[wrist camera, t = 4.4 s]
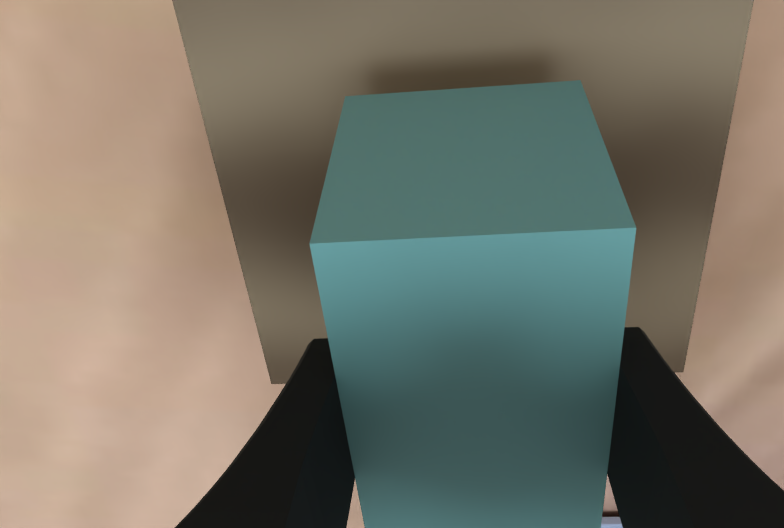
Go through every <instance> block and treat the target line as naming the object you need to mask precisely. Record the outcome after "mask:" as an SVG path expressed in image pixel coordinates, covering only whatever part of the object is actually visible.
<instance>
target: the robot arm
mask: <svg viewBox="0 0 784 528" xmlns="http://www.w3.org/2000/svg"><path fill="white" fill-rule="evenodd" d="M607 474H608V477H609V481H610V484H611V488H612V491H613V495H614V499H615V502H616V506H617V509H618V513H619V516H620V517H602V521H601V528H784V490H782V489H781V488H780V487H779V486H778V485H777V484H776V483H775V482H774V481H773V480H771V479H770V478H769V477H768V476H767V475H766V474H765V473H764V472H763V471H762V470H761V469H760V468H759V467H758V466H757V465H756V464H755V463H754V462H753V461H752V460H751V459H750V458H749V457H748V456H747V455H746V454H745V453H744V452H743V451H742V450H741V449H740V448H739V447H738V446H737V445H736V444H735V443H734V442H733V441H732V439H731V438H730V437H729V436H728V435H727V434H726V433H725V432H724V431H723V430H722V429H721V428H720V427H719V425H718V424H717V423H716V422H715V421H714V420H713V419H712V418H711V416H710V415H709V414H708V413H707V412H706V411H705V409H704V408H703V407H702V406H701V405H700V404H699V402H698V401H697V400H696V399H695V398H694V397H693V395H692V394H691V393H690V392H689V391H688V389H687V388H686V387H685V386H684V384H683V383H682V382H681V381H680V379H679V378H678V377H677V375H676V374H675V373H674V372H673V370H672V369H671V368H670V367H669V365H668V364H667V363H666V361H665V360H664V359H663V357H662V356H661V355H660V353H659V352H658V350H657V349H656V348H655V346H654V345H653V343H652V342H651V341H650V339H649V338H648V336H647V335H646V334H645V332H644V331H643V330H642V329H641V328H639V327H624V336H623V344H622V353H621V361H620V369H619V378H618V386H617V395H616V403H615V412H614V420H613V429H612V437H611V445H610V454H609V462H608V471H607ZM354 480H355V475H354V469H353V464H352V459H351V454H350V449H349V444H348V439H347V434H346V428H345V423H344V418H343V413H342V408H341V403H340V398H339V393H338V387H337V382H336V377H335V372H334V367H333V362H332V357H331V352H330V347H329V341H328V338H319V339H313V340H312V341H311V342H310V343H309V344H308V346H307V348H306V350H305V351H304V353H303V355H302V357H301V359H300V361H299V362H298V364H297V366H296V368H295V370H294V371H293V373H292V375H291V376H290V378H289V380H288V381H287V383H286V385H285V386H284V388H283V390H282V391H281V393H280V395H279V396H278V398H277V399H276V401H275V402H274V404H273V405H272V407H271V408H270V410H269V411H268V413H267V415H266V416H265V418H264V419H263V421H262V422H261V424H260V425H259V427H258V428H257V429H256V431H255V432H254V434H253V435H252V436H251V438H250V439H249V440H248V442H247V443H246V444H245V446H244V447H243V449H242V450H241V451H240V453H239V454H238V455H237V457H236V458H235V459H234V461H233V462H232V463H231V465H230V466H229V467H228V468H227V470H226V471H225V472H224V473H223V475H222V476H221V477H220V478H219V480H218V481H217V482H216V483H215V484H214V485H213V487H212V488H211V489H210V490H209V491H208V492H207V494H206V495H205V496H204V497H203V498H202V499H201V500H200V502H199V503H198V504H197V505H196V506H195V507H194V508H193V509H192V510H191V511H190V512H189V513H188V515H187V516H186V517H185V518H184V519H183V520H182V521H181V522H180V523H179V524H178V525H177V526H176V527H175V528H346V526H347V520H348V515H349V509H350V503H351V498H352V492H353V486H354Z"/></svg>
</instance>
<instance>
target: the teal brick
mask: <svg viewBox="0 0 784 528" xmlns="http://www.w3.org/2000/svg"><path fill="white" fill-rule="evenodd" d="M635 235H636V225H635V223H634V220H633V218H632V215H631V212H630V210H629V207H628V204H627V202H626V199H625V196H624V194H623V191H622V188H621V186H620V183H619V181H618V178H617V175H616V173H615V170H614V167H613V165H612V162H611V159H610V157H609V154H608V152H607V149H606V146H605V144H604V141H603V138H602V136H601V133H600V130H599V128H598V125H597V122H596V120H595V117H594V115H593V112H592V109H591V107H590V104H589V101H588V99H587V96H586V93H585V91H584V88H583V85H582V83H581V80H576V81H561V82H546V83H532V84H517V85H502V86H488V87H473V88H459V89H444V90H429V91H415V92H400V93H385V94H371V95H356V96H345V99H344V103H343V107H342V111H341V115H340V120H339V124H338V128H337V132H336V136H335V140H334V144H333V148H332V153H331V157H330V161H329V165H328V169H327V173H326V177H325V181H324V186H323V190H322V194H321V198H320V202H319V206H318V210H317V214H316V219H315V223H314V227H313V231H312V235H311V239H310V243H309V244H310V249H311V254H312V259H313V265H314V270H315V275H316V280H317V285H318V290H319V295H320V300H321V306H322V311H323V316H324V321H325V326H326V331H327V336H328V341H329V347H330V352H331V357H332V362H333V367H334V372H335V377H336V382H337V387H338V393H339V398H340V403H341V408H342V413H343V418H344V423H345V428H346V434H347V439H348V444H349V449H350V454H351V459H352V464H353V469H354V475H355V480H356V485H357V490H358V495H359V500H360V505H361V510H362V515H363V521H364V526H365V528H601V521H602V513H603V504H604V496H605V488H606V479H607V471H608V462H609V454H610V445H611V437H612V429H613V420H614V412H615V403H616V395H617V386H618V378H619V369H620V361H621V353H622V344H623V336H624V327H625V319H626V310H627V302H628V294H629V285H630V277H631V268H632V260H633V251H634V243H635Z"/></svg>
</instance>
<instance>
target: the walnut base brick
mask: <svg viewBox="0 0 784 528" xmlns="http://www.w3.org/2000/svg"><path fill="white" fill-rule="evenodd" d="M172 1H173V5H174V9H175V13H176V17H177V20H178V24H179V28H180V32H181V36H182V40H183V44H184V47H185V51H186V55H187V59H188V63H189V67H190V71H191V75H192V78H193V82H194V86H195V90H196V94H197V98H198V102H199V105H200V109H201V113H202V117H203V121H204V125H205V129H206V132H207V136H208V140H209V144H210V148H211V152H212V156H213V160H214V163H215V167H216V171H217V175H218V179H219V183H220V187H221V190H222V194H223V198H224V202H225V206H226V210H227V214H228V218H229V221H230V225H231V229H232V233H233V237H234V241H235V245H236V248H237V252H238V256H239V260H240V264H241V268H242V272H243V276H244V279H245V283H246V287H247V291H248V295H249V299H250V303H251V306H252V310H253V314H254V318H255V322H256V326H257V330H258V334H259V337H260V341H261V345H262V349H263V353H264V357H265V361H266V364H267V368H268V372H269V376H270V380H271V384H286V383H287V381H288V380H289V378H290V376H291V375H292V373H293V371H294V370H295V368H296V366H297V364H298V362H299V361H300V359H301V357H302V355H303V353H304V351H305V350H306V348H307V346H308V344H309V343H310V342H311V341H312V340H313V339H319V338H328V336H327V331H326V326H325V321H324V316H323V311H322V306H321V300H320V295H319V290H318V285H317V280H316V275H315V270H314V265H313V259H312V254H311V249H310V244H309V243H310V239H311V235H312V231H313V227H314V223H315V219H316V214H317V210H318V206H319V202H320V198H321V194H322V190H323V186H324V181H325V177H326V173H327V169H328V165H329V161H330V157H331V153H332V148H333V144H334V140H335V136H336V132H337V128H338V124H339V120H340V115H341V111H342V107H343V103H344V99H345V96H356V95H371V94H385V93H400V92H415V91H429V90H444V89H459V88H473V87H488V86H502V85H517V84H532V83H546V82H561V81H576V80H581V83H582V85H583V88H584V91H585V93H586V96H587V99H588V101H589V104H590V107H591V109H592V112H593V115H594V117H595V120H596V122H597V125H598V128H599V130H600V133H601V136H602V138H603V141H604V144H605V146H606V149H607V152H608V154H609V157H610V159H611V162H612V165H613V167H614V170H615V173H616V175H617V178H618V181H619V183H620V186H621V188H622V191H623V194H624V196H625V199H626V202H627V204H628V207H629V210H630V212H631V215H632V218H633V220H634V223H635V225H636V235H635V243H634V251H633V260H632V268H631V277H630V285H629V294H628V302H627V310H626V319H625V327H639V328H641V329H642V330H643V331H644V332H645V334H646V335H647V336H648V338H649V339H650V341H651V342H652V343H653V345H654V346H655V348H656V349H657V350H658V352H659V353H660V355H661V356H662V357H663V359H664V360H665V361H666V363H667V364H668V365H669V367H670V368H671V369H672V370H673V372H683V370H684V365H685V360H686V355H687V349H688V344H689V339H690V333H691V328H692V323H693V318H694V312H695V307H696V302H697V297H698V291H699V286H700V281H701V275H702V270H703V265H704V260H705V254H706V249H707V244H708V239H709V233H710V228H711V223H712V217H713V212H714V207H715V202H716V196H717V191H718V186H719V181H720V175H721V170H722V165H723V159H724V154H725V149H726V144H727V138H728V133H729V128H730V123H731V117H732V112H733V107H734V102H735V96H736V91H737V86H738V80H739V75H740V70H741V65H742V59H743V54H744V49H745V44H746V38H747V33H748V28H749V22H750V17H751V12H752V7H753V1H754V0H172Z"/></svg>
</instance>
